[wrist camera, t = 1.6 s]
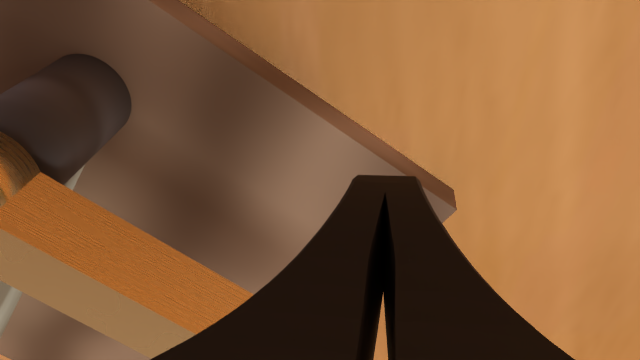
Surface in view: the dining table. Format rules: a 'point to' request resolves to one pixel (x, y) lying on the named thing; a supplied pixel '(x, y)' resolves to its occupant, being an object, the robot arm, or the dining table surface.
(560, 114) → the dining table surface
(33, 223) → the latch bar
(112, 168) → the wooden base plate
